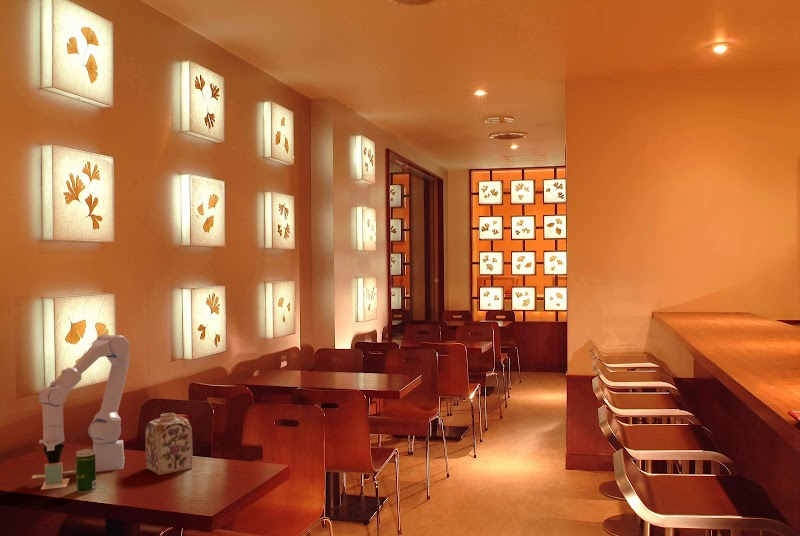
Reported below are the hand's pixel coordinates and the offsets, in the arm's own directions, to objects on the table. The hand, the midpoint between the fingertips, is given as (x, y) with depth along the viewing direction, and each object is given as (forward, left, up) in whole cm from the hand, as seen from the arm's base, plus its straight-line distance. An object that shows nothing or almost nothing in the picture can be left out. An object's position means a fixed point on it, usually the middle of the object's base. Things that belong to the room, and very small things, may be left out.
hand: (54, 468), depth 224 cm
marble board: (-1, +3, -4) cm, 5 cm away
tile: (0, +2, -4) cm, 4 cm away
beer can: (-10, +14, -4) cm, 18 cm away
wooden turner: (+1, -8, -4) cm, 9 cm away
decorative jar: (-34, -2, -4) cm, 34 cm away
